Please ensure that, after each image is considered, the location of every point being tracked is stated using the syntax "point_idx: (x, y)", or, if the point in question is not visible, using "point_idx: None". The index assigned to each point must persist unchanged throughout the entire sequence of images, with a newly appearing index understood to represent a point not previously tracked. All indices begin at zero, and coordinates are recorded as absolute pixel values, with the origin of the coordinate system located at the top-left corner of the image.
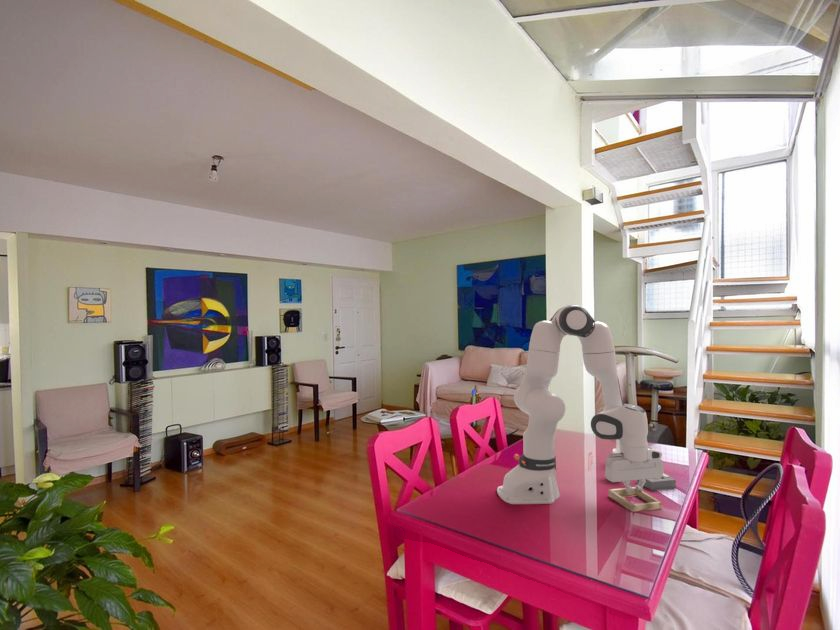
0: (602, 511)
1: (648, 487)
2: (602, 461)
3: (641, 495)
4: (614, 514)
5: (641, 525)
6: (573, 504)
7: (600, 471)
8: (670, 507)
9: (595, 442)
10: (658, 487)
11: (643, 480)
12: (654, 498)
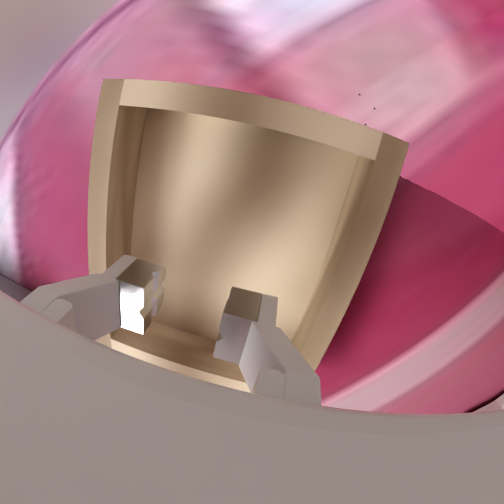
0: (475, 271)
1: None
2: None
3: None
4: (464, 211)
5: (439, 31)
6: (482, 368)
7: None
8: (61, 121)
9: None
10: (9, 291)
11: (46, 309)
12: (95, 161)
